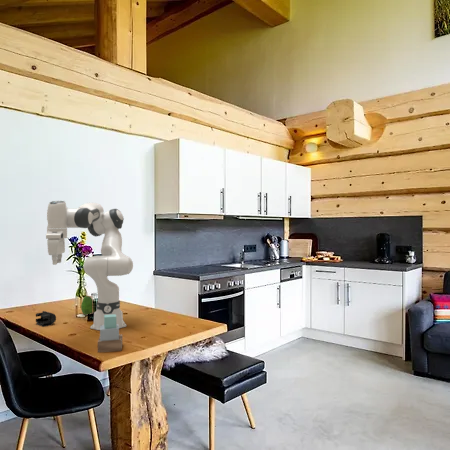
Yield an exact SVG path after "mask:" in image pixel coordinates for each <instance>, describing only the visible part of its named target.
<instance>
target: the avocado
mask: <svg viewBox="0 0 450 450" xmlns="http://www.w3.org/2000/svg"><path fill="white" fill-rule="evenodd" d="M92 300H93V299H92V297H91V296H90V295H85V296H84V297H83V299H82V302H81V305H80V308H81V312H82V314H83V315H86V316H88V315H87V314H89V315H91V314H93V312H92ZM90 313H91V314H90Z"/></svg>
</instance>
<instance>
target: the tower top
mask: <svg viewBox="0 0 450 450" xmlns="http://www.w3.org/2000/svg"><path fill="white" fill-rule="evenodd" d="M119 334H120V328H119V325H118V324H116V328H108V329H105V328H104V325H100V330H99V337H100V341H109V340H119Z"/></svg>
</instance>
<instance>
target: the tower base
mask: <svg viewBox="0 0 450 450" xmlns="http://www.w3.org/2000/svg"><path fill="white" fill-rule="evenodd" d="M122 348H123V334H120V333H119V340H109V341H100V336H99V337H98V339H97V353H109V352H121V351H122Z"/></svg>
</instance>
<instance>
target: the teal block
mask: <svg viewBox="0 0 450 450" xmlns="http://www.w3.org/2000/svg"><path fill="white" fill-rule="evenodd" d="M104 328H105V329H108V328H116V314H112V315H104Z"/></svg>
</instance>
